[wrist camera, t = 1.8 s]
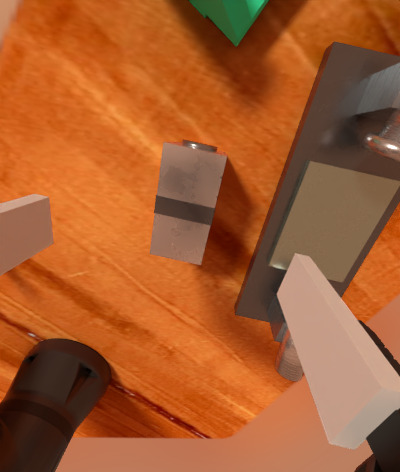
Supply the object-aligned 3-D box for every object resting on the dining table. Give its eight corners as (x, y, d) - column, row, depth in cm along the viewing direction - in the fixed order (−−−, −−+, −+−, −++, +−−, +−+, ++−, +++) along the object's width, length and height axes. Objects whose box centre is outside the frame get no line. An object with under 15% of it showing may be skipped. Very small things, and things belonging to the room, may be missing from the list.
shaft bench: (311, 330, 32) (343, 397, 23) (232, 313, 32) (236, 373, 23) (468, 62, 18) (670, -3, 10) (332, 30, 18) (425, -61, 10)
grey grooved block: (204, 238, 27) (200, 269, 21) (165, 229, 27) (148, 257, 21) (226, 148, 23) (229, 151, 16) (179, 137, 23) (163, 136, 16)
